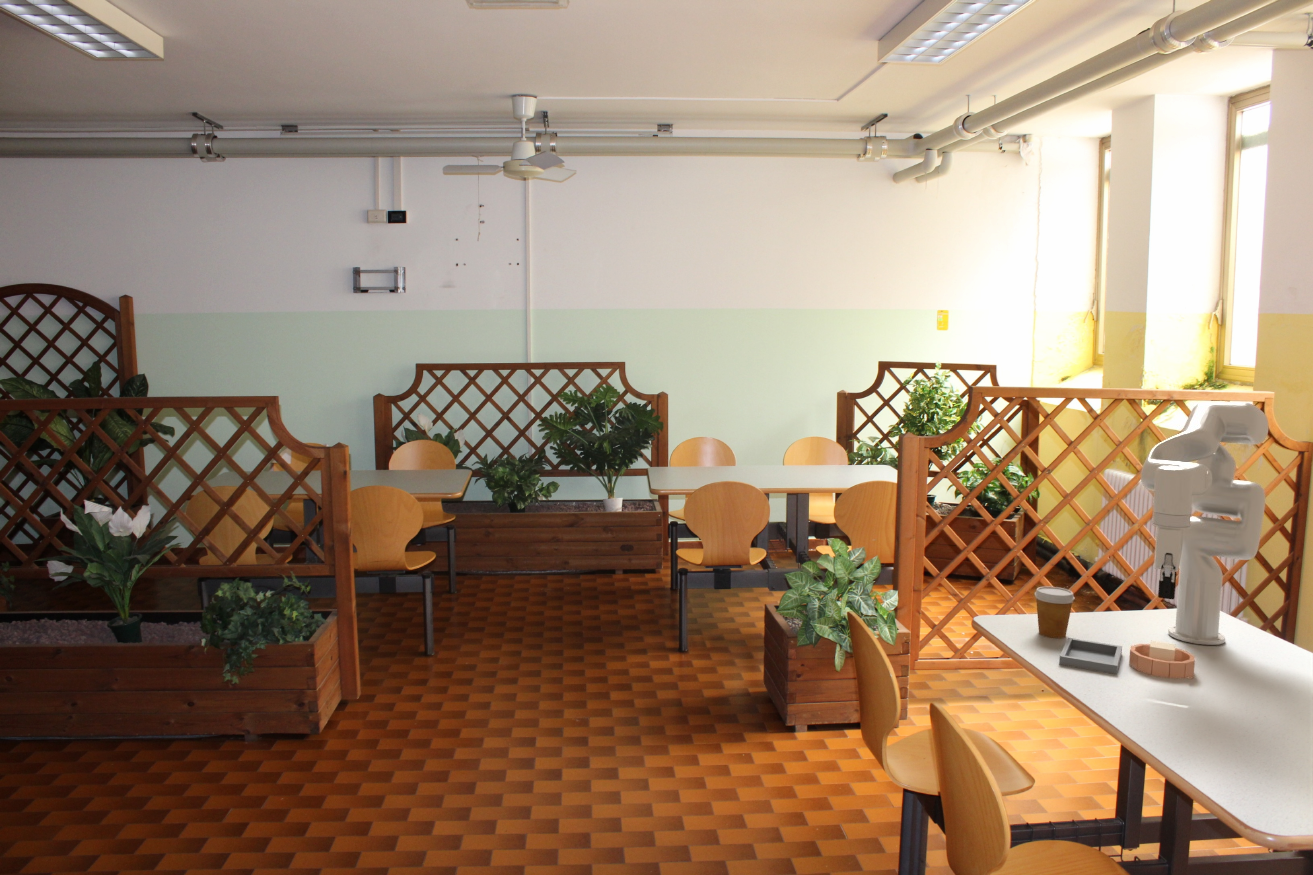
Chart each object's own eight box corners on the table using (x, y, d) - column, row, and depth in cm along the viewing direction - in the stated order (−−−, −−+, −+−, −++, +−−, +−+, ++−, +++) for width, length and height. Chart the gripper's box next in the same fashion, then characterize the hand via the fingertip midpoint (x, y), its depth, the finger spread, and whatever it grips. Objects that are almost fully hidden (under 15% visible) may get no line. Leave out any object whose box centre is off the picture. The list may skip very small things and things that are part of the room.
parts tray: (1067, 647, 222) (1068, 637, 222) (1121, 656, 216) (1122, 646, 216) (1059, 666, 209) (1059, 655, 208) (1116, 676, 202) (1117, 665, 202)
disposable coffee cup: (1074, 634, 232) (1077, 589, 231) (1069, 644, 224) (1072, 598, 223) (1035, 628, 237) (1038, 584, 236) (1029, 637, 229) (1031, 592, 228)
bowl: (1131, 656, 216) (1132, 640, 215) (1193, 666, 209) (1194, 650, 209) (1127, 672, 205) (1128, 655, 204) (1193, 684, 198) (1194, 666, 198)
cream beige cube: (1149, 661, 210) (1151, 640, 210) (1174, 665, 208) (1175, 644, 207) (1148, 667, 206) (1149, 646, 206) (1173, 671, 204) (1174, 650, 203)
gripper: (1154, 511, 213) (1150, 581, 215) (1150, 525, 198) (1146, 600, 200) (1190, 514, 209) (1186, 585, 211) (1190, 529, 194) (1185, 605, 196)
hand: (1166, 592), depth 206 cm, fingers open, 9 cm apart
